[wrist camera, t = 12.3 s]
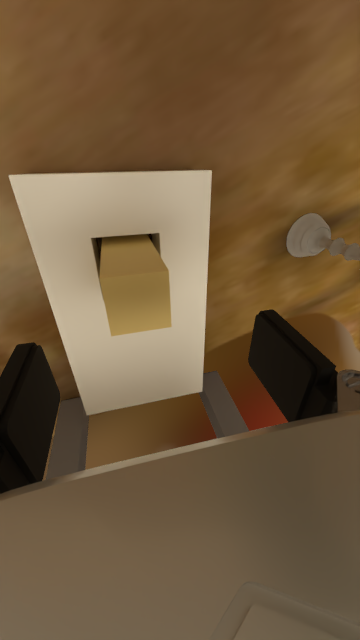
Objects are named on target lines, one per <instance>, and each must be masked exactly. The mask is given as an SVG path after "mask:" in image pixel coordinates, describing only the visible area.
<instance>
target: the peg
mask: <svg viewBox="0 0 360 640" xmlns="http://www.w3.org/2000/svg"><path fill="white" fill-rule="evenodd" d="M99 279H100V284H101V289H102V294H103V299H104V304H105V308H106V313H107V318H108V323H109V328H110V333H111V336H117V335H123V334H130V333H136V332H143V331H149V330H156V329H162V328H169V327H172V324H171V303H170V282H169V270H168V268H167V267H166V265H165V263H164V262H163V260H162V258H161V257H160V255H159V253H158V252H157V250H156V248H155V247H154V245H153V243H152V242H151V240H150V238H149V237H148V235H147V234H137V235H123V236H110V237H102V246H101V261H100V276H99Z"/></svg>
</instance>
